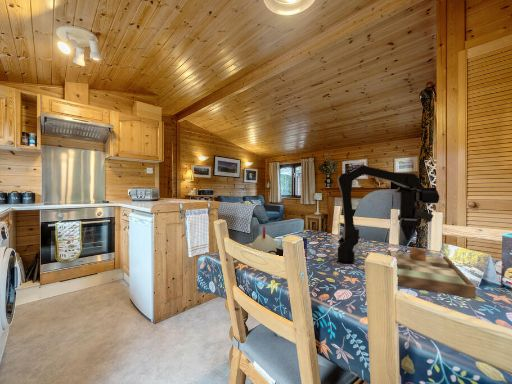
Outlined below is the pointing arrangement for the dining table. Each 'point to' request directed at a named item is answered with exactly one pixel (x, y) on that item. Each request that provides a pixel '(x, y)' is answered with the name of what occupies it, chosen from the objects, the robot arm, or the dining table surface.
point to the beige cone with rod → (264, 243)
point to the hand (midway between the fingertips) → (407, 240)
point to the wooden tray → (433, 275)
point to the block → (417, 254)
